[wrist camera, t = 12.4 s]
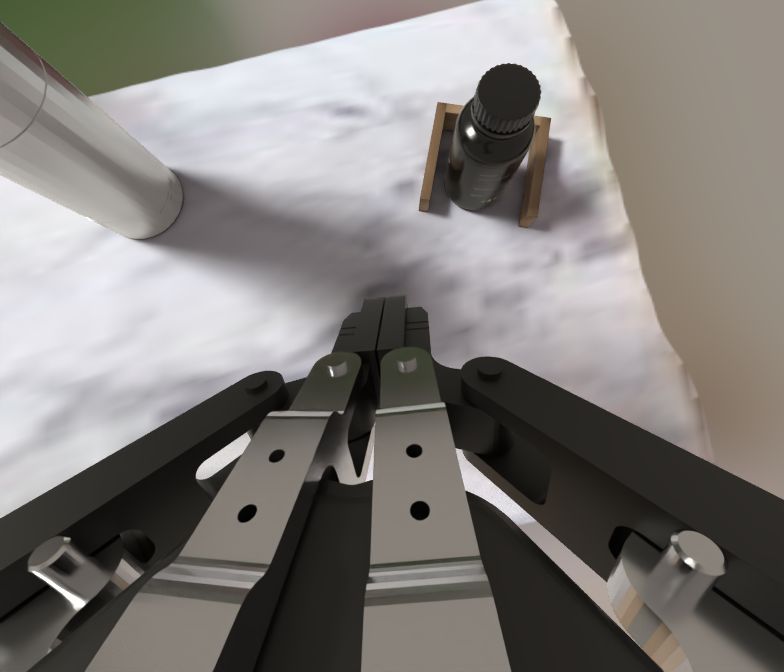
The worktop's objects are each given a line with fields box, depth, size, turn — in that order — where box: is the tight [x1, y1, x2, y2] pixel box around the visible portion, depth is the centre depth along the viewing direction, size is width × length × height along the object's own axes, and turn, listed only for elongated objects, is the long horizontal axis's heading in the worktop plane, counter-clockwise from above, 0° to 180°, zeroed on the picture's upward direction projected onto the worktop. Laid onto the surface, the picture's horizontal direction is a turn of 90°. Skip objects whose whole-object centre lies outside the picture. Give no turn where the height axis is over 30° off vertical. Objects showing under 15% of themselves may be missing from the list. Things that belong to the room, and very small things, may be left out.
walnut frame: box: [419, 102, 551, 228], centre depth 35 cm, size 12×11×2 cm
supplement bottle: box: [444, 63, 541, 210], centre depth 30 cm, size 7×7×12 cm
